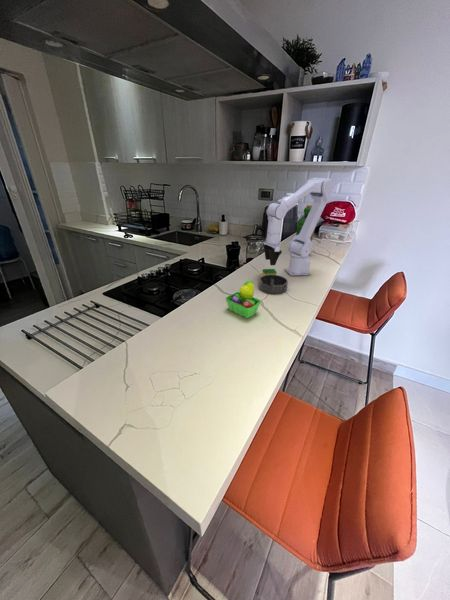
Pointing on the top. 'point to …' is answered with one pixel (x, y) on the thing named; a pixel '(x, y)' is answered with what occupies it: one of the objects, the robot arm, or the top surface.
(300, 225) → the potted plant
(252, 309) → the fruit basket
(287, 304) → the top surface
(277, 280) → the pan
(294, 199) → the robot arm
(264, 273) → the sponge
